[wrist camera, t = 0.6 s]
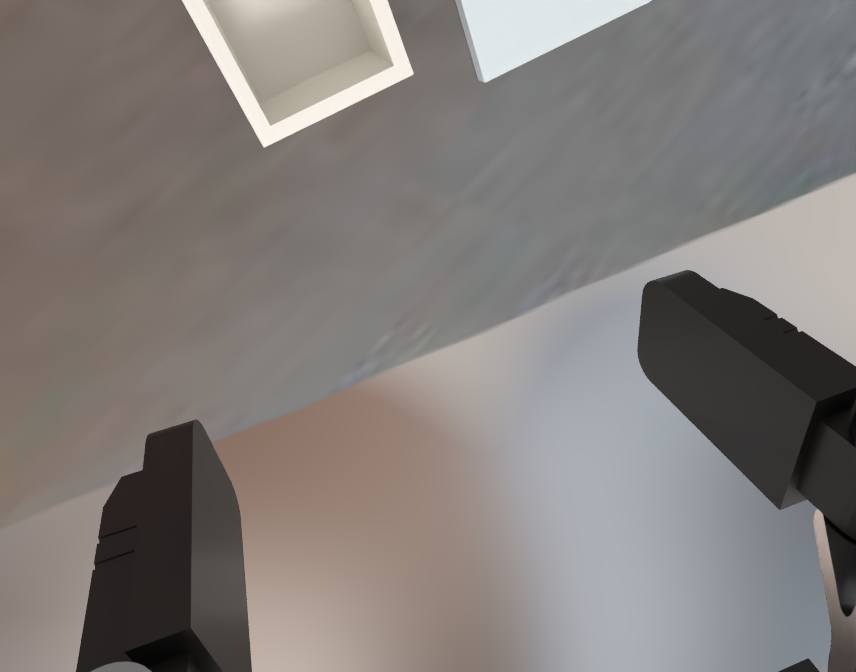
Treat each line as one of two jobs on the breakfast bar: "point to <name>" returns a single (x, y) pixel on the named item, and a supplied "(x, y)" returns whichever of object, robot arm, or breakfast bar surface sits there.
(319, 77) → the pot white
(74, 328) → the breakfast bar surface
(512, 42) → the thin white panel
